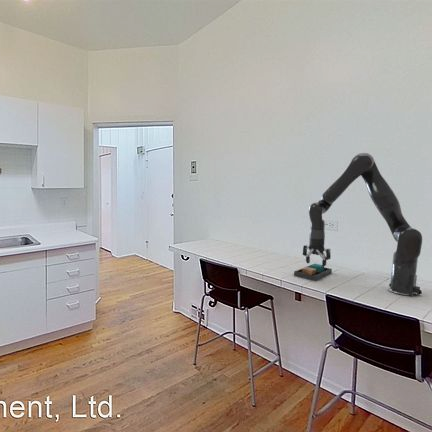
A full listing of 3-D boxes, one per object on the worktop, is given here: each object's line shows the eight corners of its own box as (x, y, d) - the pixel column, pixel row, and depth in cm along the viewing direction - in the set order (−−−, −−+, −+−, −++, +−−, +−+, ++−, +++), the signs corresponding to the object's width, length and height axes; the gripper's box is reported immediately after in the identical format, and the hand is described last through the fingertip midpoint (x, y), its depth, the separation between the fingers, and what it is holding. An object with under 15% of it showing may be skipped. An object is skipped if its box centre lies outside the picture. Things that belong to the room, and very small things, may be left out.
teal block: (323, 271, 182) (324, 265, 182) (319, 273, 179) (320, 267, 178) (314, 269, 187) (314, 263, 186) (310, 271, 183) (310, 265, 183)
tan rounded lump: (315, 275, 176) (316, 268, 175) (311, 277, 173) (311, 270, 172) (306, 273, 180) (306, 266, 180) (301, 274, 177) (302, 268, 176)
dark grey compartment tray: (331, 273, 182) (331, 268, 181) (314, 280, 168) (314, 276, 168) (311, 268, 191) (311, 264, 191) (293, 275, 178) (294, 271, 177)
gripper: (301, 236, 176) (300, 263, 178) (327, 239, 164) (326, 268, 166) (307, 234, 180) (306, 261, 182) (333, 237, 169) (332, 266, 171)
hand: (315, 264), depth 174 cm, fingers open, 8 cm apart
